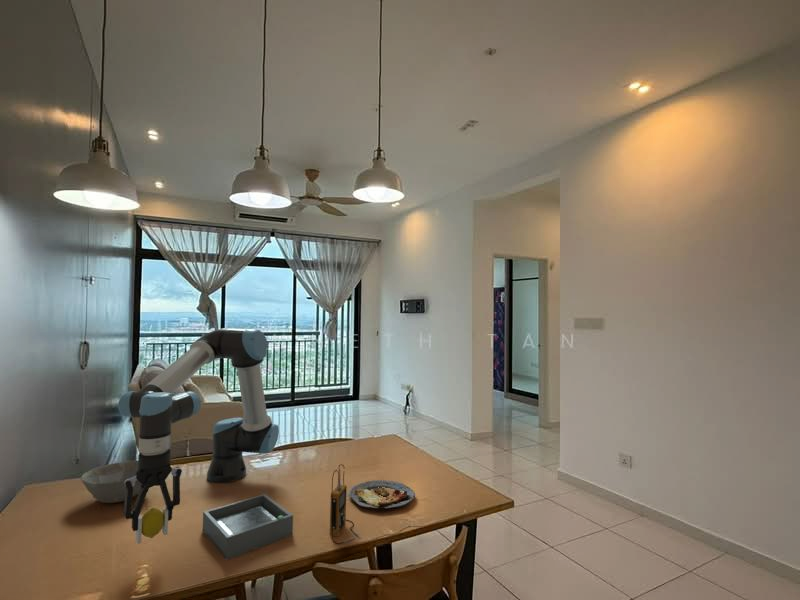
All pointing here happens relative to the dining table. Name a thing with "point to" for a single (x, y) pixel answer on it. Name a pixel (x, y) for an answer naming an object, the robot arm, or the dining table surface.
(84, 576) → the dining table surface
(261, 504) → the gray open box
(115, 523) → the dining table surface
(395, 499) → the food plate
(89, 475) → the ceramic bowl
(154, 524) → the lemon
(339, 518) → the multimeter
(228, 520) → the gray picture frame
